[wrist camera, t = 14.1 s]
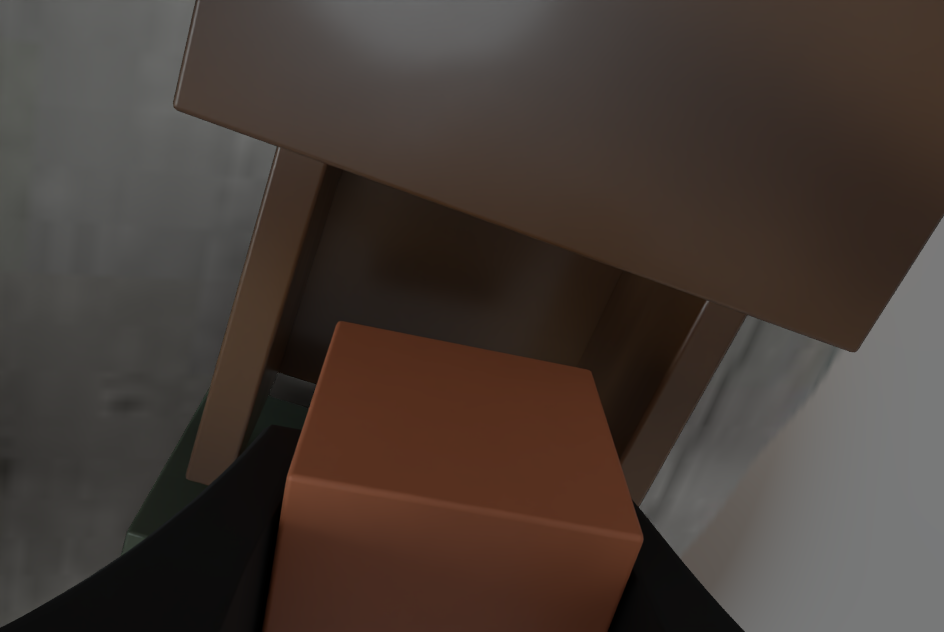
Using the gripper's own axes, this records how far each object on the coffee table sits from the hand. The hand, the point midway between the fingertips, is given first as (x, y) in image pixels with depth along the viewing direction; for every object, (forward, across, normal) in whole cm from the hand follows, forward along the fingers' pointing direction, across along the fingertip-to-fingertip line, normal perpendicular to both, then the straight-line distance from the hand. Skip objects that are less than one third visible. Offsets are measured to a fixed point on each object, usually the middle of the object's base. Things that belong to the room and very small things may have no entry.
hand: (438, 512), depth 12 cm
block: (+1, 0, 0) cm, 1 cm away
